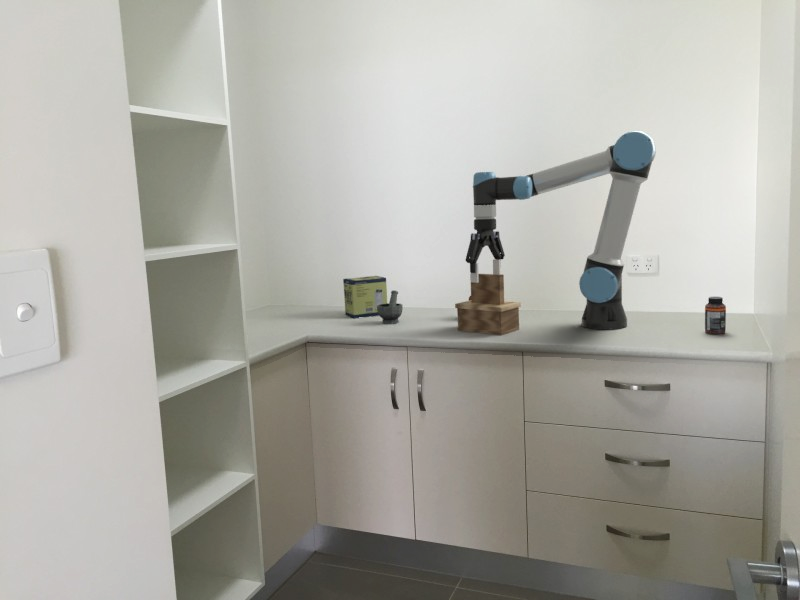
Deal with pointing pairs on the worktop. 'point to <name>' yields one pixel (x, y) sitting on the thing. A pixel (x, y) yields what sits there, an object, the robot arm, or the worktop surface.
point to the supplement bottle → (715, 316)
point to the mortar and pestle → (390, 310)
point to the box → (488, 321)
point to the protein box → (364, 295)
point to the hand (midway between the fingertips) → (486, 280)
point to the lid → (488, 295)
